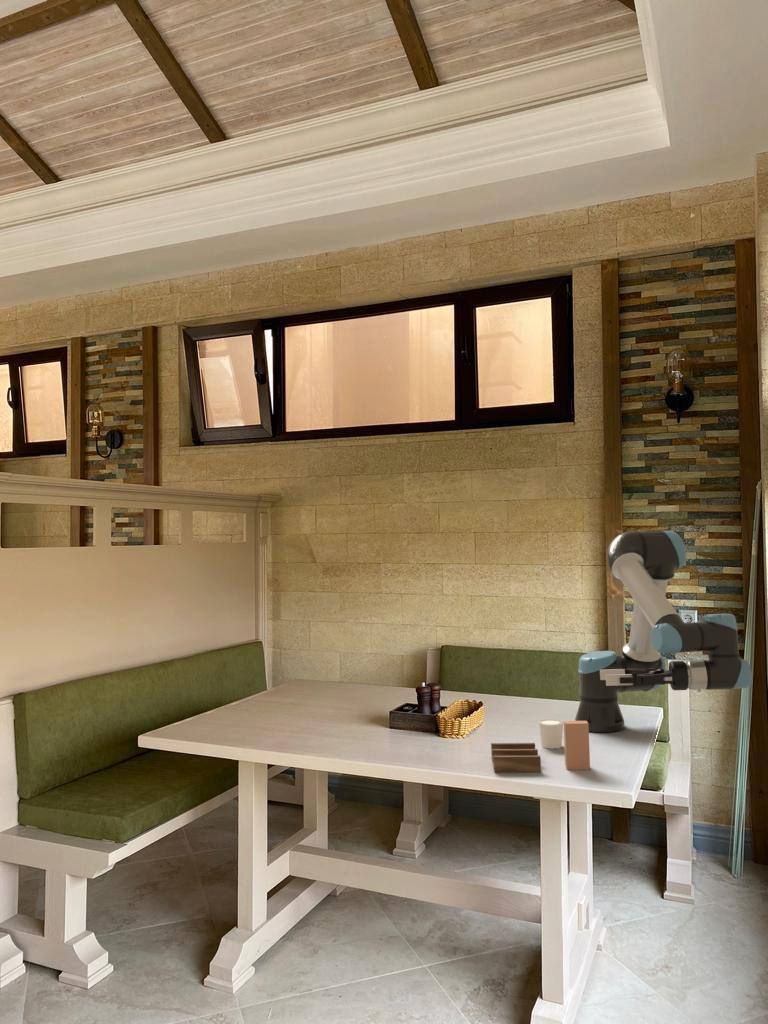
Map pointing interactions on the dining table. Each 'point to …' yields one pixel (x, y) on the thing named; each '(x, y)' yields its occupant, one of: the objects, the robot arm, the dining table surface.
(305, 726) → the dining table surface
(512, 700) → the dining table surface
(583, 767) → the tile
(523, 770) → the rack
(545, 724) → the white cup
